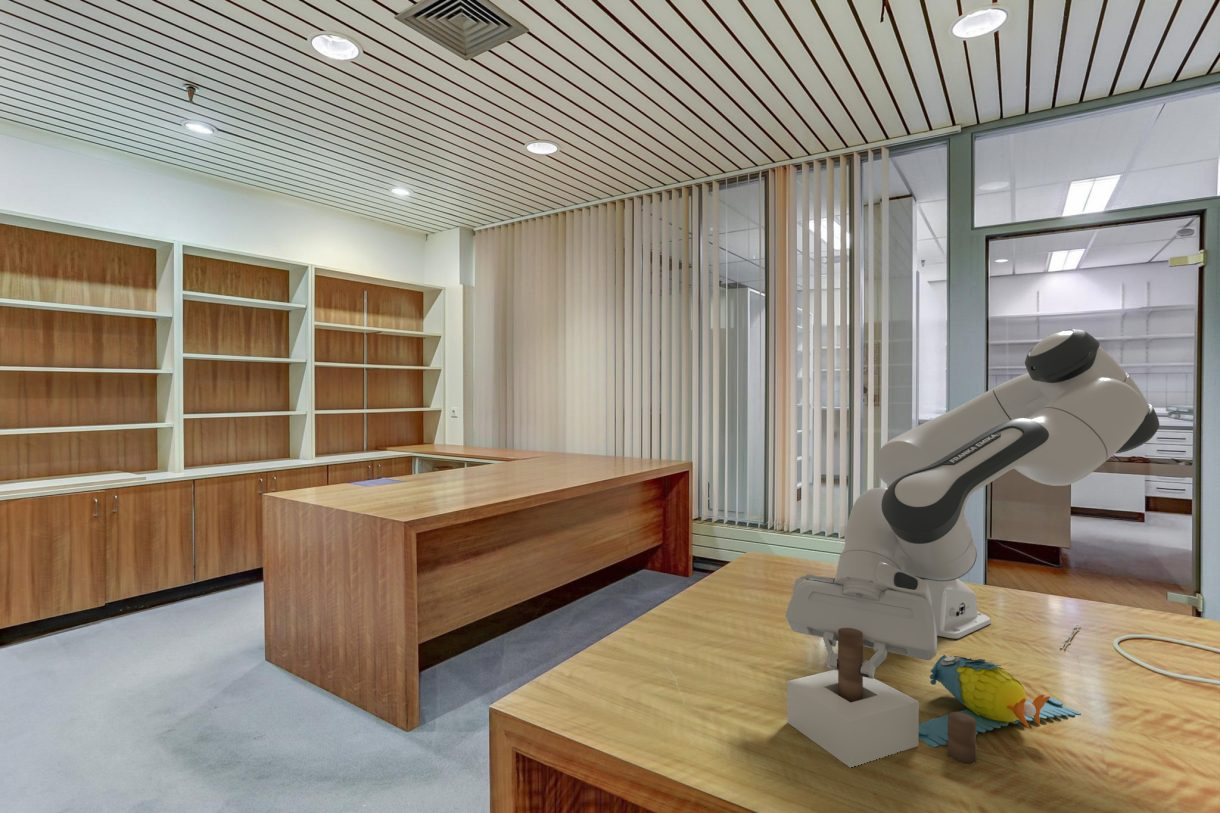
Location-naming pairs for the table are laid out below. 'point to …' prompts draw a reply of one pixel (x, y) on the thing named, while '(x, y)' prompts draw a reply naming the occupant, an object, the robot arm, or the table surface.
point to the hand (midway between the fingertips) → (849, 672)
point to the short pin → (962, 737)
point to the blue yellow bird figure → (986, 698)
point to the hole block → (853, 718)
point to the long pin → (850, 664)
